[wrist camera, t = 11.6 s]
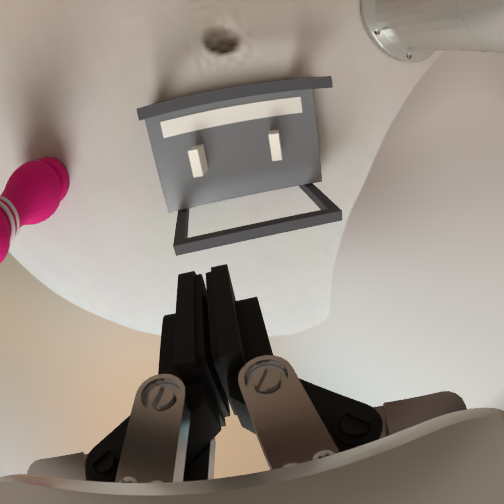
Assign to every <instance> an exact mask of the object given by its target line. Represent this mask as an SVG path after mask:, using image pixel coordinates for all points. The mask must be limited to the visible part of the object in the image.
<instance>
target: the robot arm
mask: <svg viewBox="0 0 504 504" xmlns="http://www.w3.org/2000/svg"><path fill="white" fill-rule="evenodd" d="M360 5H361V16H362V20H363V23H364V25H365V28H366V30H367V32H368V33H369V35H370V37H371V38H372V40H373V41H374V42H375V43H376V45H377V46H378V47H379V48H380V49H381V50H383V51H384V52H385V53H387V54H388V55H389V56H391V57H393V58H395V59H398V60H401V61H405V62H418V61H422V60H425V59H426V58H428V57H429V56H430V55H431V54H432V53H433V52H434V51H435V50H459V51H481V52H496V53H504V0H361V4H360ZM374 32H375V33H374ZM206 286H207V290H206V287H205V283H204V280H203V277H202V274H199V275H196V273H195V271H192V272H188V273H183V274H179V275H178V287H177V301H176V313H175V314H170V315H165V316H164V317H163V324H162V335H161V347H160V360H159V372H158V375H155V376H153V377H150V378H149V379H147V380H146V381H144V383H142V385H141V386H140V387H139V389H138V391H137V393H136V396H135V400H134V404H133V407H132V411H131V415H130V416H129V417H128V418H127V419H125V420H124V421H123V422H122V423H121V424H120V425H119V426H118V427H117V428H116V429H114V430H113V431H112V432H111V433H110V434H109V435H108V436H106V438H104V439H103V440H102V441H101V442H100V443H99V444H97V445H96V446H95V447H94V448H93V449H92V450H91V452H90V453H89V454H84V453H83V452H81V453H76V454H70V455H65V456H59V457H53V458H47V459H40V460H37V461H35V462H34V463H32V464H31V465H30V467H29V469H28V474H17V475H9V476H4V477H1V478H0V504H504V411H503V410H500V409H495V408H475V409H467V408H466V405H465V403H464V401H463V400H462V398H461V397H459V396H458V395H457V394H456V393H453V392H449V391H446V392H439V393H434V394H429V395H425V396H420V397H415V398H409V399H404V400H398V401H393V402H387V403H384V404H383V406H379V407H371V406H369V405H367V404H364V403H362V402H359V401H356V400H353V399H351V398H348V397H345V396H342V395H340V394H337V393H334V392H332V391H329V390H327V389H324V388H322V387H319V386H316V385H314V384H311V383H309V382H306V381H304V380H301V379H299V378H298V377H297V375H296V373H295V371H294V369H293V368H292V366H291V365H290V364H289V362H288V361H286V360H285V359H283V358H281V357H278V356H274V355H273V353H272V350H271V346H270V342H269V339H268V335H267V331H266V328H265V324H264V320H263V317H262V313H261V309H260V306H259V302H258V299H257V297H254V298H249V299H244V300H240V301H236V300H235V296H234V291H233V287H232V283H231V279H230V275H229V271H228V266H227V264H225V265H221V266H216V267H211V272H208V273H206ZM228 400H229V403H230V405H231V407H232V410H233V412H234V414H235V415H237V416H238V418H239V421H240V423H241V425H242V427H244V428H246V429H248V430H249V431H251V432H253V433H255V434H256V435H257V438H258V440H259V443H260V445H261V448H262V450H263V453H264V455H265V458H266V460H267V463H268V465H269V467H270V470H269V471H264V472H258V473H253V474H247V475H240V476H234V477H226V478H219V479H213V477H214V460H215V445H216V443H215V436H216V435H217V434H218V433H219V432H220V431H221V426H226V425H225V417H227V416H230V409H229V403H228Z"/></svg>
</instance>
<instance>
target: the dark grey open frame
mask: <svg viewBox="0 0 504 504" xmlns="http://www.w3.org/2000/svg"><path fill="white" fill-rule="evenodd" d="M331 87H332V79H331V76H326V77H309V78H296V79H286V80H278V81H269V82H262V83H254V84H248V85H241V86H235V87H229V88H223V89H218V90H213V91H208V92H203V93H198V94H193V95H189V96H184V97H180V98H176V99H172V100H168V101H163V102H159V103H155V104H152V105H148V106H145V107H141V108H138V109H137V113H138V118H139V120H143V119H146V118H150V117H154V116H158V115H161V114H165V113H169V112H173V111H177V110H182V109H186V108H190V107H195V106H199V105H204V104H209V103H214V102H219V101H225V100H230V99H236V98H242V97H248V96H255V95H262V94H269V93H277V92H285V91H294V90H305V89H316V88H331ZM299 187H300V188H301V189H302V190H303V191H304V192H305V193H306V194H307V195H308V196H309V197H310V198H311V199H312V200H313V201H314V203H315V204H316V205H317V206H318V207H319V208H320V209H321V210H319V211H314V212H309V213H304V214H299V215H294V216H289V217H284V218H279V219H275V220H270V221H265V222H260V223H255V224H250V225H246V226H241V227H236V228H232V229H227V230H222V231H218V232H213V233H209V234H204V235H200V236H195V237H191V238H187V237H188V219H189V208H186V209H182V210H178V216H177V223H176V230H175V237H174V245H173V247H174V250H175V253H176V256H177V255H181V254H186V253H190V252H195V251H200V250H204V249H209V248H213V247H218V246H222V245H227V244H232V243H236V242H241V241H246V240H250V239H255V238H260V237H264V236H269V235H274V234H278V233H283V232H288V231H293V230H297V229H302V228H307V227H312V226H317V225H321V224H326V223H331V222H336V221H341V220H342V210H340V209H339V208H338V207H337V206H336V205H335V204H334V203H333V202H332V201H331V200H330V199H329V198H328V197H327V196H326V195H324V194H323V193H322V192H321V191H320V190H319V189H318V188H317V187H316V186H315V185H313V184H312V183H310V184H304V185H299Z"/></svg>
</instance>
